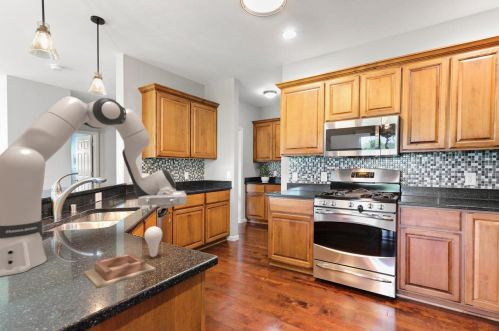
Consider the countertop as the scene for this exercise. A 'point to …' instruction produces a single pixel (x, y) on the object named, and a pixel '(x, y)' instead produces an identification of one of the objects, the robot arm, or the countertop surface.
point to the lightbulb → (153, 239)
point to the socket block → (117, 270)
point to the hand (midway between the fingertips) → (160, 202)
